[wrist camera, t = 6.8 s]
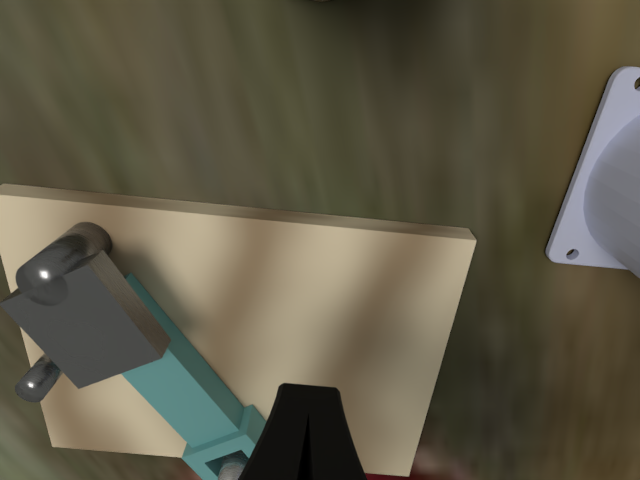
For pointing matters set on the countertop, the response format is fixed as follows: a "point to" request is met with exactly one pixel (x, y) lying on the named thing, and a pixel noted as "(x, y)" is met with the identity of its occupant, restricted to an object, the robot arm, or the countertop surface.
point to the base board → (261, 311)
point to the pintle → (232, 465)
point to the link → (194, 399)
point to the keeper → (81, 314)
